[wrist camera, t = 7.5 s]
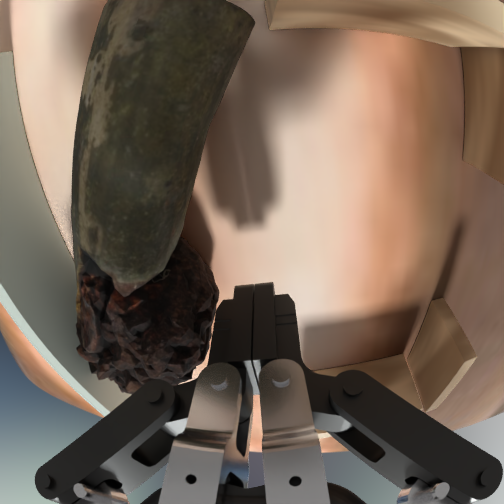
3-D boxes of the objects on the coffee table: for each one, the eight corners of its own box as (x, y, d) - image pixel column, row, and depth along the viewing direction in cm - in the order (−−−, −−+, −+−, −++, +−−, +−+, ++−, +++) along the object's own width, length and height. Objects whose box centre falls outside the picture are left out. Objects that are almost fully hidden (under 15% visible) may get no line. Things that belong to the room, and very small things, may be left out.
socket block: (471, 32, 6) (549, 36, 2) (417, 357, 18) (436, 408, 14) (264, 3, 7) (272, -56, 3) (300, 380, 19) (307, 440, 15)
